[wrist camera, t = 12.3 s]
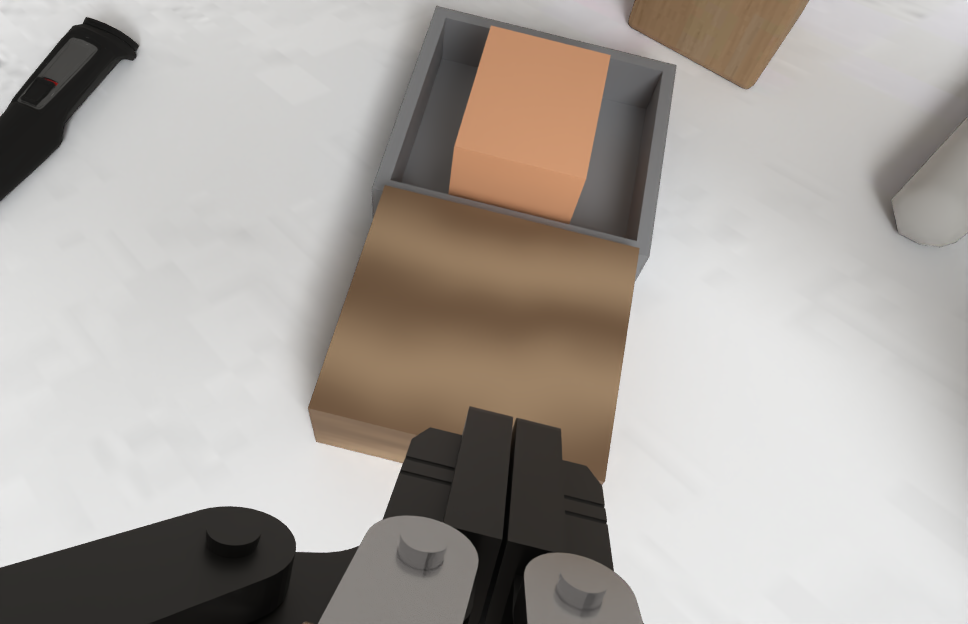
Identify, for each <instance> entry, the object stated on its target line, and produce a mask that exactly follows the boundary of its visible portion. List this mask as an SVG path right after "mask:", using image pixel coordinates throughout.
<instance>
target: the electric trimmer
mask: <svg viewBox="0 0 968 624" xmlns="http://www.w3.org/2000/svg"><path fill="white" fill-rule="evenodd" d="M138 47H139V45H138V44H137V43H136V42H134V41H133V40H132V39H131V38H129V37H128V36H127V35H125V34H124V33H122V32H121V31H119V30H117V29H115V28H113V27H111V26H109V25H107V24H105V23H102V22H100V21H97V20H95V19H92V18H88V17H86V18H85V20H84V22H83V24H80V25H75V26H73V27H72V28H71V29H70V30H69V31H68V33H67V34H66V35H65V36H64V37H63V38H62V39H61V40H60V41H59V43H58V44H57V45H56V46H55V47H54V49H53V50H52V51H51V52H50V53H49V55H48V56H47V57H46V58H45V60H44V61H43V62H42V63H41V64H40V66H39V67H38V68H37V69H36V71H35V72H34V73H33V74H32V75H31V77H30V78H29V79H28V80H27V82H26V83H25V84H24V85H23V86H22V88H21V89H20V90H19V91H18V93H17V94H16V95H15V97H14V98H13V99H12V101H11V103H10V104H9V106H8V108H7V109H6V111H5V112H4V113H3V114H2V115H1V117H0V201H1V200H2V199H3V198H4V197H5V196H6V195H7V194H8V193H9V192H11V191H12V190H13V189H14V188H15V187H16V186H17V185H18V184H19V183H20V182H22V181H23V180H24V179H25V178H26V177H27V176H28V175H29V174H30V173H32V172H33V171H34V170H35V169H36V168H37V167H38V166H39V165H40V164H41V163H42V162H43V161H45V160H46V159H47V158H48V157H49V156H50V155H51V154H52V153H53V152H54V151H55V150H56V149H57V148H58V147H59V145H60V144H61V142H62V134H63V127H64V123H65V122H66V121H67V120H68V119H69V118H70V117H71V115H72V114H73V113H74V112H75V111H76V110H77V109H78V107H79V106H80V105H81V104H82V103H83V102H84V101H85V99H86V98H87V97H88V96H89V95H90V94H91V93H92V91H93V90H94V89H95V88H96V87H97V86H98V85H99V83H100V82H101V81H102V80H103V79H104V78H105V77H106V75H107V74H108V73H109V72H110V71H111V70H112V69H113V67H114V66H115V65H116V64H117V63H118V62H119V61H120V60H121V59H129V60H132V61H133V60H134V59H135V58H136V54H135V52H134V51H136V50H137V48H138Z"/></svg>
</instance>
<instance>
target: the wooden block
mask: <svg viewBox="0 0 968 624" xmlns="http://www.w3.org/2000/svg"><path fill="white" fill-rule="evenodd" d="M808 2H809V0H635V2H634V5H633V8H632V11H631V14H630V16H629V25H630V26H631V27H632V28H634V29H635V30H637V31H639V32H641V33H643V34H645V35H646V36H648V37H650V38H652V39H654V40H656V41H657V42H659V43H661V44H663V45H665V46H667V47H668V48H670V49H672V50H674V51H676V52H678V53H679V54H681V55H683V56H685V57H687V58H689V59H690V60H692V61H694V62H696V63H698V64H700V65H702V66H703V67H705V68H707V69H709V70H711V71H713V72H714V73H716V74H718V75H720V76H722V77H724V78H725V79H727V80H729V81H731V82H733V83H735V84H736V85H738V86H740V87H742V88H745V89H749V88H750V87H752V86H753V85H754V84H755V82H756V81H757V79H758V78H759V76H760V75H761V73H762V72H763V70H764V69H765V67H766V66H767V64H768V63H769V61H770V60H771V58H772V57H773V55H774V54H775V52H776V51H777V49H778V48H779V46H780V45H781V43H782V42H783V40H784V39H785V37H786V36H787V34H788V33H789V31H790V30H791V28H792V27H793V25H794V24H795V22H796V21H797V19H798V18H799V16H800V15H801V13H802V12H803V10H804V8H805V7H806V5H807V3H808Z"/></svg>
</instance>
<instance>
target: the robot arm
mask: <svg viewBox="0 0 968 624" xmlns="http://www.w3.org/2000/svg"><path fill="white" fill-rule="evenodd" d="M512 426H513V428H512ZM604 505H605V504H604V496H603V489H602V485H601V484H600V482H599V481H598V480H597V478H596V477H595V476H594V475H593V473H592V472H591V471H590V469H589V468H588V467H587V466H585V465H581V464H577V463H573V462H569V461H565V460H562V438H561V428H557V427H553V426H549V425H545V424H541V423H537V422H533V421H529V420H525V419H521V418H516V420H515V422H514V425H513V417H512V416H508V415H504V414H500V413H496V412H492V411H488V410H484V409H480V408H476V407H472V406H469V410H468V413H467V417H466V421H465V425H464V429H463V433H462V435H460V434H456V433H452V432H448V431H444V430H440V429H436V428H432V427H430V428H428V429H426V430H425V431H423V432H422V433H420V434H418V435H417V436H415V437H414V438H412V440H411V442H410V445H409V448H408V451H407V454H406V457H405V459H404V462H403V465H402V467H401V470H400V473H399V476H398V479H397V481H396V484H395V487H394V490H393V492H392V495H391V498H390V501H389V503H388V506H387V509H386V512H385V515H384V517H383V520H381V521H379V522H377V523H376V524H374V525H373V526H372V527H371V528H370V529H369V530H368V532H367V533H366V535H365V537H364V538H363V540H362V542H361V544H360V546H357V547H355V548H352V549H348V550H344V551H339V552H330V553H311V552H295V551H296V542H295V539H294V536H293V534H292V533H291V531H290V530H289V529H288V527H287V526H286V525H285V524H283V523H282V522H281V521H279V520H278V519H276V518H275V517H273V516H271V515H269V514H266V513H264V512H261V511H257V510H254V509H249V508H243V507H232V506H228V507H214V508H208V509H203V510H199V511H196V512H192V513H189V514H185V515H182V516H178V517H175V518H171V519H168V520H164V521H161V522H157V523H154V524H151V525H147V526H144V527H140V528H137V529H133V530H130V531H126V532H123V533H119V534H116V535H112V536H109V537H105V538H102V539H99V540H95V541H92V542H88V543H85V544H81V545H78V546H74V547H71V548H67V549H64V550H60V551H57V552H53V553H50V554H46V555H43V556H40V557H36V558H33V559H29V560H26V561H22V562H19V563H15V564H12V565H8V566H5V567H1V568H0V624H644V623H643V621H642V618H641V614H640V610H639V607H638V603H637V600H636V597H635V595H634V593H633V591H632V590H631V588H630V587H629V585H628V584H627V583H626V582H625V581H624V580H623V579H622V578H621V577H620V576H619V575H618V574H616V573H615V572H614V569H613V562H612V554H611V547H610V540H609V533H608V525H607V524H606V522H607V518H606V511H605V508H604Z"/></svg>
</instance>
